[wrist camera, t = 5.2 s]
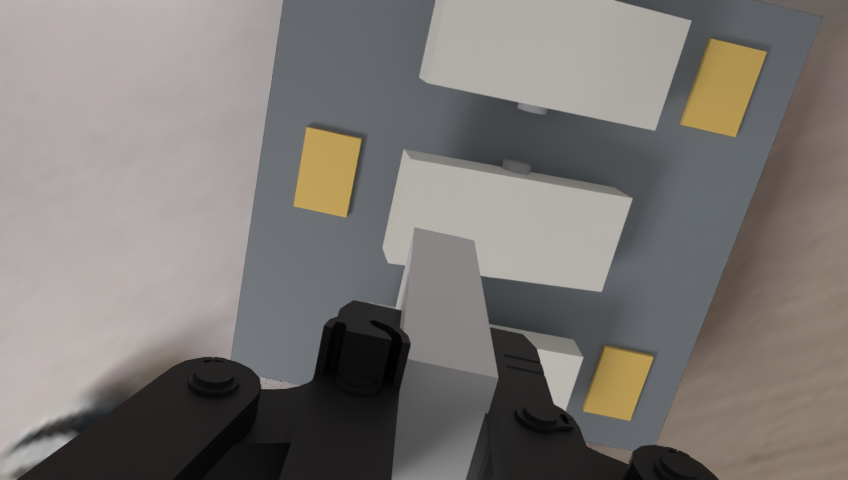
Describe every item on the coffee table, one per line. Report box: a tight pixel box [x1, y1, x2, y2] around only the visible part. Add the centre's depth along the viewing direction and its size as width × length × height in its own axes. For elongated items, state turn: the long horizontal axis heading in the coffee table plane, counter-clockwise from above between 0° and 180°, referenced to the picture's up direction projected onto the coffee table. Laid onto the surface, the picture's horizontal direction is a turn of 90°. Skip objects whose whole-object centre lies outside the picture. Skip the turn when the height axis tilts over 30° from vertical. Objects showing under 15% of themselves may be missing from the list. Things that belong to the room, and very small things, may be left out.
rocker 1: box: [419, 0, 691, 131], centre depth 22 cm, size 8×4×2 cm, turn 77°
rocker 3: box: [369, 302, 583, 411], centre depth 25 cm, size 8×4×2 cm, turn 77°
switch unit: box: [231, 0, 822, 451], centre depth 27 cm, size 18×18×5 cm
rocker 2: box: [382, 149, 633, 292], centre depth 23 cm, size 8×4×2 cm, turn 77°
